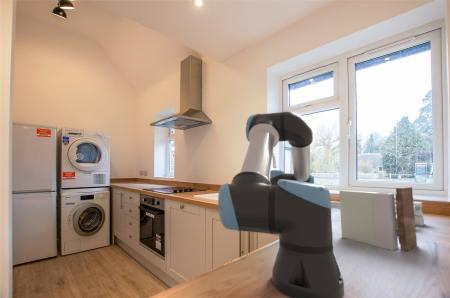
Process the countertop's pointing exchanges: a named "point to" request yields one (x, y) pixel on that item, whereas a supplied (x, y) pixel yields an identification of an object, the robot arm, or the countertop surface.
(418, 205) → the light bulb box
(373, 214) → the cream thick square slab
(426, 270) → the countertop surface
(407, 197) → the walnut cabinet side
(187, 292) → the countertop surface
